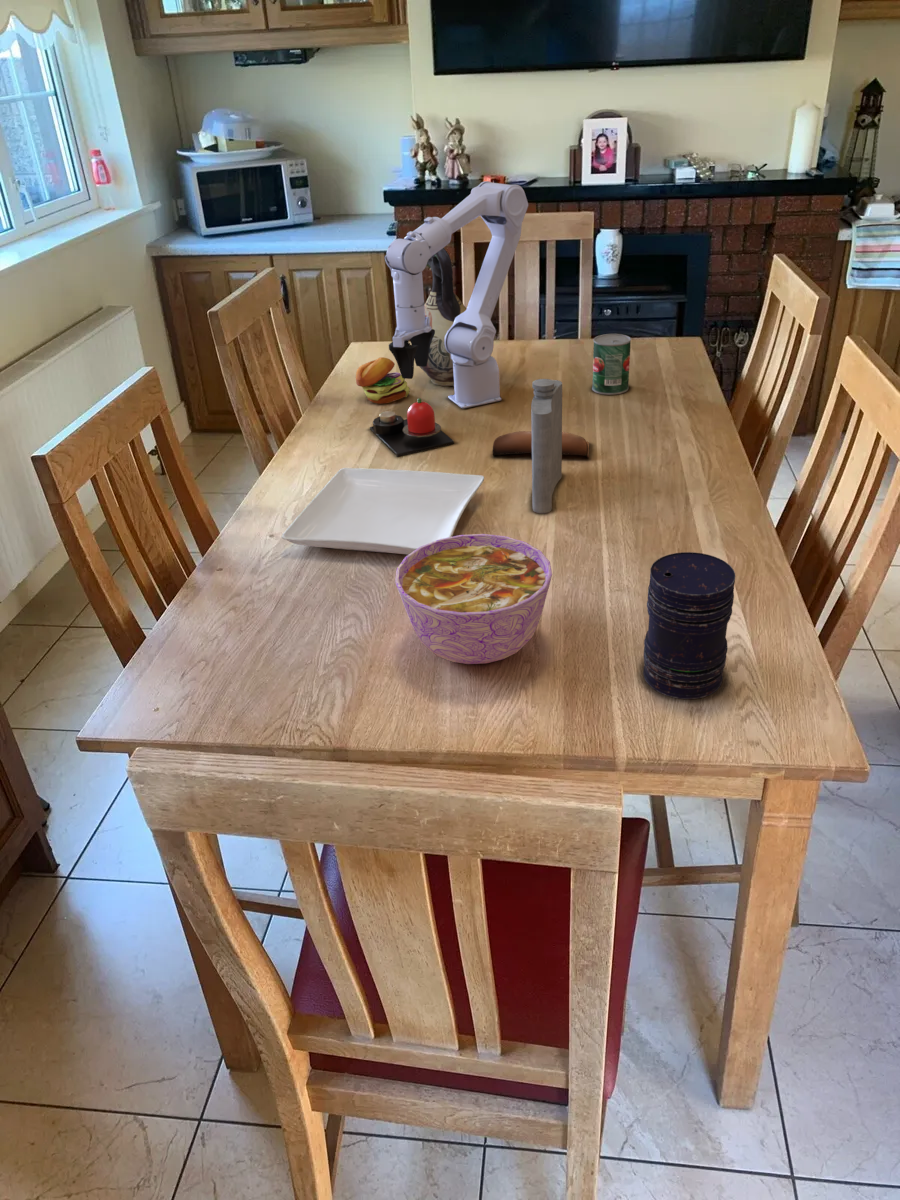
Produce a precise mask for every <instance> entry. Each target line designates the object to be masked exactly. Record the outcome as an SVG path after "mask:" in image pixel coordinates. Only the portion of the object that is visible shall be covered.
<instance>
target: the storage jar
mask: <svg viewBox="0 0 900 1200" xmlns="http://www.w3.org/2000/svg"><path fill="white" fill-rule="evenodd" d="M649 570H650V572H649V585H648V588H647V601H646V609H647V614H648V629H647V631H646V633H645V637H644V639H643V645H644V647H643V664H644V665H643V670H642V671H643V672H642V673H643V678H644V681H645V682H646V684H647V685H648V686H649V687H651V688H652V689H653V690H654V691H656V692H657V693H659V694H661V695H663V696H666V697H670V698H674V699H680V700H696V699H697V700H698V699H702V698H706V697H708V696H710V695H713V694H714V693H715V692H717V691H718V690H719V689H720V687H721V685H722V683H723V678H724V677H723V676H724V670H725V667H726V663H727V662H726V661H727V653H728V640H727V638H726V637H727V631H728V624H729V622H730V620H731V616H732V615H733V605H734V599H735V591H734V590H735V583H736V572H735V570H734V568H733V567H732V565H730V564H729V563H728V562H726V560H723V559H721V558H720V557H716V556H715V555H711V554H707V553H702V552H694V551H693V552H692V551H685V552H683V551H682V552H674V553H669V554H667V555H663V556H661V557H659V558H658V559H656V560H655V561H654V562H653V564H651V566H650V569H649Z"/></svg>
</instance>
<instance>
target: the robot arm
mask: <svg viewBox="0 0 900 1200" xmlns="http://www.w3.org/2000/svg"><path fill="white" fill-rule="evenodd" d="M528 208H529V202H528V199H527V196H526V193H525V190H524V189H523V187H522V186H521V185H519V184H508V183H507V184H506V183H500V182H499V183H498V182H491V181H489V180H486V181H485V180H484V181H482V182H480V183H479V184H478V185H477V186H475V187H472V189H471V191H470V194H469V195H467V196H466V197H465V198H464V199H463V200H461V201H460V202H458V204H457V205H455V206H454V207H453V208H452V209H451V210H450V211H448V212H447V213H446V214H445V215H443V217H438V216H432V217H431V216H427V217H426V218H424V219H423V222H424V223H422V224H421V225H419V227H417V228H416V229H414V230H413V231H411V230H410V231H408V232H407V233H406V236H405V237H404V238H396V239H394V240H392V242H390V244H389V245H388V246H387V249H386V254H385V255H384V261H385V264H386V265H387V267H388V268H389V270H390V276H391V278H392V283H393V295H394V307H395V319H396V320H395V321H396V327H395V331H394V335H393V336H392V341H391V342H390V343H389V344H388V350H389V351H390V353H391V354H392V356H393V357H394V360H395V361H396V363H397V367H398V370H399V373H400V374H401V376H402V378H405V380H407V379H408V380H412V379H413V378H414V373H415V366H416V367H419V366H422V367H426V366H427V362H428V356H429V349H430V345H431V342H432V339H433V337H434V334H435V330H434V329H431V326H430V321H429V317H425V308H424V305H425V295H424V281H423V280H424V279H423V271H424V270H425V269H426V267H427V262H428V260H429V259H430V258H431V257H432V256H433V255H434V254H436V253H437V252H438V251H440V250H441V249H442V248H444V249H445V247H447V246H448V245H450V244H451V240H452V234H454V233H456V232H457V231H458V230H460V229H462V228H463V227H465V226H467V225H468V224H469V223H471V222H472V221H474V220H476V219H477V218H479V217H481V219H482V221H483V222H484V223H485V225H486V227H487V228H488V229H489V231H490V234H491V239H490V242H489V245H488V247H487V250H486V253H485V256H484V258H483V261H482V263H481V267H480V270H479V273H478V275H477V278H476V281H475V284H474V287H473V290H472V293H471V295H470V298H469V301H468V303H467V307H466V308H467V309H466V311H464V312H463V313H461V314H460V315H458V316H457V317H456V318H455V320H454V323H453V325H452V326H451V327H450V329H449V330H448V331H447V333H446V335H445V340H444V344H445V348H446V350H447V352H449V353H450V354H451V359H452V360H453V374H454V386H453V387H454V390H453V391H454V393H453V394H449V395H448V396H447V399H449V400H450V401H451V402H453V403H454V404H455V405H457V406H458V407H459V408H460V409H469V408H472V407H477V406H482V405H487V404H491V403H496V402H500V401H502V397H501V388H500V385H501V383H500V368H499V364H498V362H497V360H496V358H495V357H494V356H492V354H493V352H494V346H495V344H494V341H495V337H496V335H497V329H496V327H495V326H494V324H493V322H492V318H493V314H494V311H495V308H496V306H497V303H498V301H499V298H500V294H501V292H502V289H503V286H504V284H505V281H506V278H507V276H508V273H509V270H510V267H511V264H512V262H513V259H514V257H515V253H516V251H517V248H518V245H519V242H520V239H521V235H522V227H523V221H524V219H525V216H526V213H527V211H528ZM473 329H477V331H476V330H473ZM409 341H410V342H409Z"/></svg>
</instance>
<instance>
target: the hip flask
mask: <svg viewBox="0 0 900 1200" xmlns="http://www.w3.org/2000/svg"><path fill="white" fill-rule="evenodd" d="M531 383H532V386H531V387H532V389H533V397H532V400H531V405H530V406H531V407H530V408H531V409H530V411H531V412H530V413H531V415H530V417H531V418H530V419H531V420H530V421H531V431H532V453H531V489H532V490H531V495H532V496H531V499H532V501H531V502H532V506H531V507H532V511H533V512H534V513H537V514H548V513H550V512H551V511H552V509H553V506H552V503H553V500H552V499H553V494H554V490H555V489H556V486H557V485H558V483H559V481H560V480H561V479H562V475H563V474H562V473H563V472H562V471H563V470H562V469H563V466H562V465H563V463H562V462H563V454H562V432H563V382H562V381H561V380H558V379H550V378H538V379H535V380H533V381H532V382H531Z"/></svg>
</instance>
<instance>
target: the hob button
mask: <svg viewBox="0 0 900 1200" xmlns="http://www.w3.org/2000/svg"><path fill="white" fill-rule="evenodd" d="M396 415H397V413H396V412H395V411H392V410H386V411H383V412H380V413H379V416H380V423H383V424H391V423H394V422H396Z"/></svg>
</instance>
